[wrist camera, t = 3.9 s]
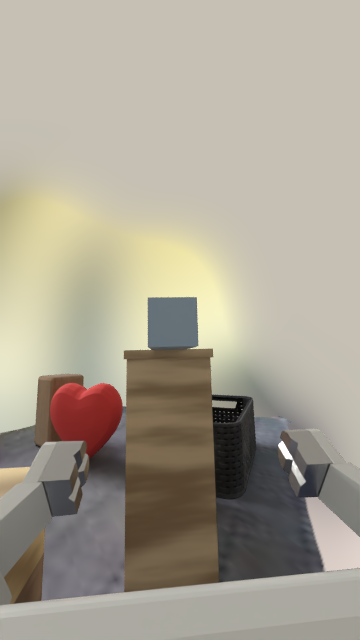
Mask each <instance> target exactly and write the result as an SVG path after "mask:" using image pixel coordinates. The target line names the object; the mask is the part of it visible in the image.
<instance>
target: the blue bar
mask: <svg viewBox="0 0 360 640" xmlns="http://www.w3.org/2000/svg"><path fill="white" fill-rule="evenodd" d="M197 324H198V323H197V298H196V297H195V298H194V297H184V298H183V297H181V298H180V297H178V298H176V297H175V298H148V347H149V348H150V349H151V350H178V349H189V348H193V347H196V346H198V325H197Z"/></svg>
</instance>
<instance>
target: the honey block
mask: <svg viewBox="0 0 360 640" xmlns="http://www.w3.org/2000/svg"><path fill="white" fill-rule="evenodd" d="M29 469H30V467H21V468H4V469H0V498H1V497H2V496H3V495H4V494H6V493H7V492H8V491H9V490H10V489H12V488H13V487H14V486H15V485H16V484H20V483H22V482H23V480H24V478H25V476H26V474H27V472H28V470H29ZM44 537H45V528H44V529H43V530H42V532H41V533H40V534H39V535H38V536H37V538H36V539H35V540H34V541H33V543H32V544H31V545H30V546H29V548H28V549H27V550H26V551H25V552H24V554H23V555H22V556H21V557H20V559H19V560H18V561H17V562H16V563H15V565H14V566H13V567H12V568H11V570H10V571H9V572H8V573H7V575H6V576H5V577H4V579H5V581H6V583H7V585H8V587H9V590H10V592H11V595H12V599H11V602H10V604H14V602H15V601H16V599H17V597H18V596H19V594H20V592H21V591H22V589H23V587H24V585H25V584H26V582H27V580H28V579H29V577H30V575H31V574H32V572H33V570H34V569H35V567H36V565H37V563H38V562H39V560H40V558H41V557H42V555H43V553H44Z"/></svg>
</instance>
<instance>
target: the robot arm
mask: <svg viewBox="0 0 360 640" xmlns="http://www.w3.org/2000/svg"><path fill="white" fill-rule="evenodd" d="M280 438H281V439H282V442H281V443H280V444H279V445H278V451H277V452H278V459H279V462H280V465H281V467H282V469H283V470H284V471H285V472H286V473H288V474H289V480H288V481H289V483H290V485H291V487H292V488H293V490H294V492H295V494H296V496H297V498H302V497H318V498H319V499H320V500H321V501H322V502H323V503H324V504H325V505H326V506H327V507H328V508H329V509H330V510H332V511H333V512H334V513H335V514H336V515H337V516H338V517H339V518H340V519H341V520H342V521H343V522H344V523H345V524H346V525H348V526H349V527H350V528H351V529H352V530H353V531H354V532H355V533H356V534H357V535H358V536H359V537H360V469H359V468H358V467H356V466H354V465H353V464H351V463H346V461H345V460H344V459H343V458H342V456H341V455H340V454H339V453H338V451H337V450H336V449H335V448H334V447H333V445H332V444H331V443H330V441H329V440H328V439H327V437H326V436H325V435H324V434H323V432H322V431H321V430H319V429H300V430H284V431H283V432H282V433H281V437H280ZM86 449H87V444H86V441H59V442H45V443H44V444H43V445H42V446H41V448H40V450H39V452H38V454H37V456H36V457H35V459H34V461H33V463H32V465H31V467H30V469H29V470H28V472H27V474H26V476H25V478H24V480H23V482H22V483H20V484H16V485H15V486H14V487H13V488H12V489H10V490H9V491H8V492H7V493H6V494H4V495H3V496H2V497H1V498H0V640H360V568H357V569H347V570H337V571H327V572H317V573H308V574H298V575H288V576H278V577H269V578H259V579H249V580H240V581H230V582H220V583H210V584H201V585H191V586H181V587H172V588H162V589H152V590H143V591H133V592H123V593H114V594H104V595H94V596H84V597H75V598H65V599H55V600H46V601H36V602H26V603H16V604H10V602H11V599H12V595H11V592H10V590H9V587H8V585H7V583H6V581H5V579H4V577H5V576H6V575H7V573H8V572H9V571H10V570H11V568H12V567H13V566H14V565H15V563H16V562H17V561H18V560H19V559H20V557H21V556H22V555H23V554H24V552H25V551H26V550H27V549H28V548H29V546H30V545H31V544H32V543H33V541H34V540H35V539H36V538H37V536H38V535H39V534H40V533H41V532H42V530H43V529H44V528H45V527H46V525H47V524H48V523H49V522H50V520H51V519H52V517H54V516H64V515H73V514H77V512H78V508H79V505H80V501H81V498H82V489H81V487H82V486H83V485H84V484H85V483H86V480H87V477H88V471H89V456H88V455H87V454H86Z"/></svg>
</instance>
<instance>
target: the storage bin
mask: <svg viewBox="0 0 360 640" xmlns="http://www.w3.org/2000/svg"><path fill="white" fill-rule="evenodd" d="M212 400H217V401H218V400H219V401H235V402H237V404H236V408H219V407H212V416H213V441H214V465H215V490H216V497H221V498H228V499H232V498H237V497H240V496H242V495H243V494H244V492H245V490H246V486H247V482H248V478H249V474H250V470H251V466H252V462H253V458H254V454H255V450H256V441H255V439H256V437H255V425H254V423H255V422H254V410H253V398H251V397H247V396H229V395H212ZM240 402H242V403H240ZM241 409H243V410H241ZM215 411H216V412H215ZM219 411H221V412H219ZM228 412H230V413H228ZM232 412H234V413H232ZM237 412H238V413H237ZM215 414H216V415H215ZM219 415H221V416H219ZM223 415H225V416H223ZM228 415H229V416H228ZM233 416H234V417H233ZM237 416H239V417H237ZM215 418H217V419H215ZM219 418H221V419H219ZM228 419H230V420H228ZM232 419H234V420H232ZM215 421H216V422H215ZM219 422H221V423H219ZM224 422H225V423H224Z"/></svg>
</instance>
